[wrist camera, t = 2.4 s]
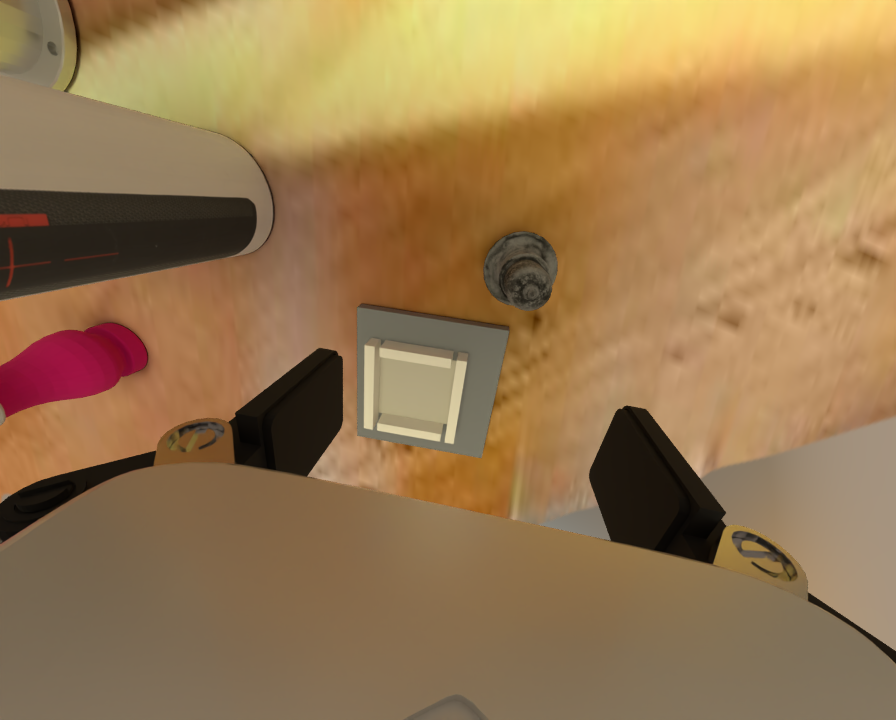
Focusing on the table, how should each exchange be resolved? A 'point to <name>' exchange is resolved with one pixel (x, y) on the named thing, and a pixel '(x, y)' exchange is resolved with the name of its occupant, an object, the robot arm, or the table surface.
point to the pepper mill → (69, 366)
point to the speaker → (115, 192)
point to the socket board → (426, 378)
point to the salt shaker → (521, 270)
